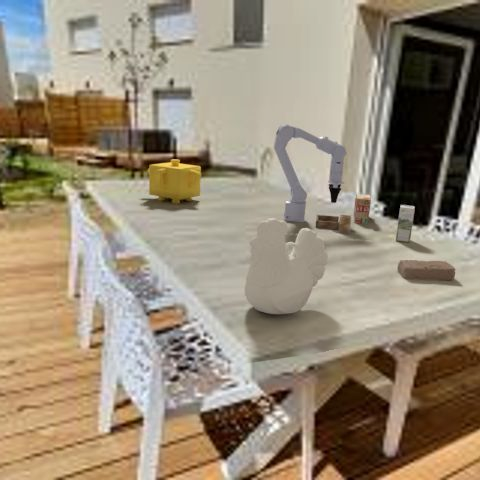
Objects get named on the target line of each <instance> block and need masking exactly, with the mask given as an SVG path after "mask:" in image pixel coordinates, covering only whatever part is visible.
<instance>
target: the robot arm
mask: <svg viewBox="0 0 480 480" xmlns="http://www.w3.org/2000/svg"><path fill="white" fill-rule="evenodd" d="M293 138H294V139H299V138H300V139H303V140H305V141H308V142H310V143H312V144H314V145H315V146H316V149H318V150H319V151H322V152H323V153H326V154H327V155H331V158H330V168H329V179H328V190H329V194H330V201H331V203H333V204H336V203H337V200H338V197H339V194H340V192H341V191H342V188H341V187H342V184H345V181H343V173H344V163H345V161H344V160H345V156H346V155H347V151H346V147H345V146H344V145H341V144H339V143H338V141H333V140H331V139H329V137H328V136H320V137H317V136H316V135H314V134H311V133H310V132H307V131H306V130H304V129H301V128H300V127H296V126H292V125H290V124H286V123H285V124H284V123H283V124H281V125H280V126H279V127H278V129H277V131H276V132H275V140H274V144H273V150H274V151H275V154H276V157H277V159H278V161H279V163H280V166H281V168H282V170H283V173H284V176H285V178H286V179H287V182H288V185H289V187H290V196H291V198H290V200H286V201H285V204H284V213H283V216H284V219H283V221H284V222H286V221H288V222H297V223H298V222H300V223H305V222H306V219H307V218H306V216H305V215H306V206H307V205H306V204H307V197H308V194H307V191H306V190H305V189H304V188H303V187H302V184H301V183H300V181H299V178H298V176H297V174H296V171H295V168H294V166H293V164H292V161H291V159H290V156H289V154H288V152H287V150H286V148H287V146H288V144H289V142H290V141H291V140H292V139H293Z"/></svg>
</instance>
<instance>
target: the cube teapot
mask: <svg viewBox="0 0 480 480" xmlns="http://www.w3.org/2000/svg"><path fill="white" fill-rule="evenodd" d="M180 162H181V160H180V159H175V158H173V159H170V162H161V163H153V164H149V167H148V169H147V170H146V172H147V173H148V174H149V175H148V176H149V181H148V182H149V183H148V184H149V185H148V186H149V189H148V191H149V196H150V195H151V196H155V197H158V198H157V199H156V201H161V202H163V201H166V199H170V200H171V201H172V202H171V203H172V204H181V201H182V200H184V201H187V202H191V201H193V198H194V197H200V196H201V178H202V172H201V171H202V167H201V166H200V165H194V164H189V163H187V164H186V163H180Z"/></svg>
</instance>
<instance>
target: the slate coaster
mask: <svg viewBox="0 0 480 480" xmlns="http://www.w3.org/2000/svg"><path fill="white" fill-rule="evenodd" d="M331 231H332V232H333V233H336V234H340V235H353V234H356V233H357V232H356V230H354V229H350V233H346V232H339V229H331Z"/></svg>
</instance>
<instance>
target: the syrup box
mask: <svg viewBox="0 0 480 480" xmlns="http://www.w3.org/2000/svg"><path fill="white" fill-rule="evenodd" d="M415 208H416V207H415V206H414V205H407V204H400V208H399V214H398V220H397V227H396V234H395V242H401V243H409V244H410V242H411V238H412V237H411V236H412V230H413V224H414V216H415V210H416V209H415Z"/></svg>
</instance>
